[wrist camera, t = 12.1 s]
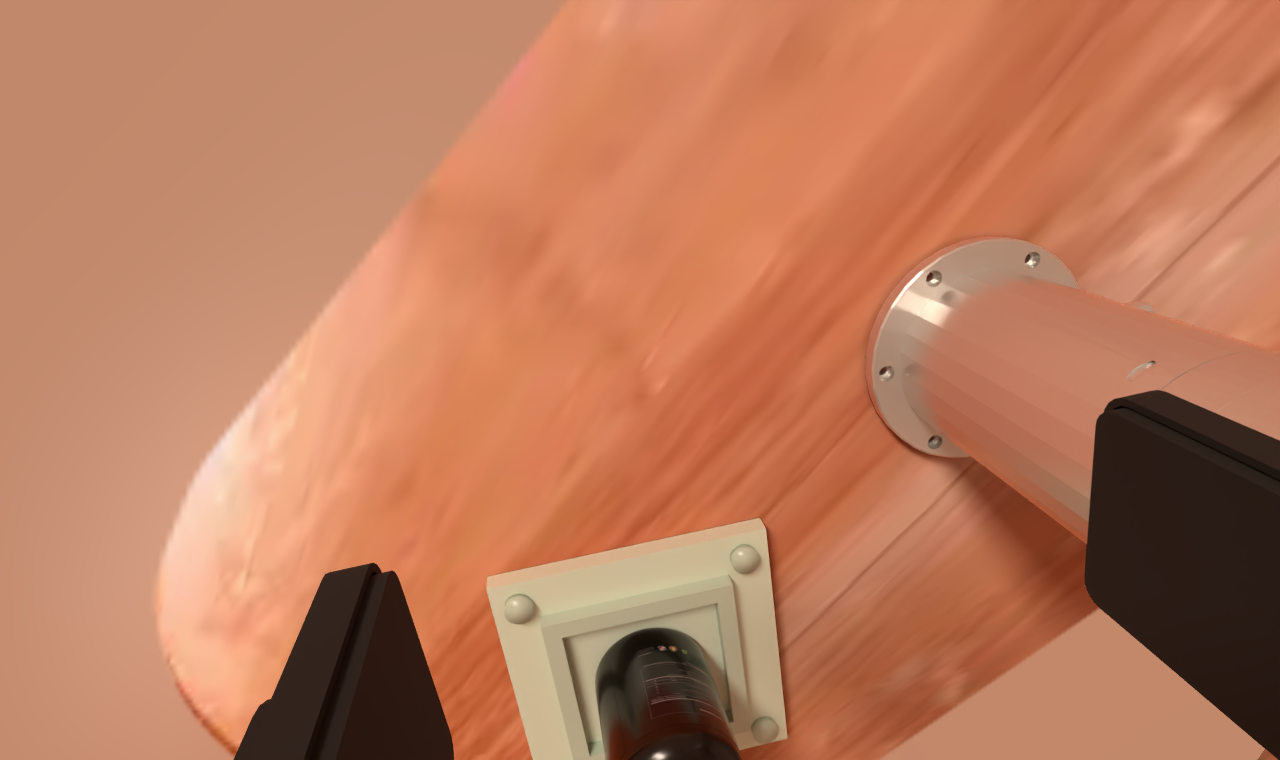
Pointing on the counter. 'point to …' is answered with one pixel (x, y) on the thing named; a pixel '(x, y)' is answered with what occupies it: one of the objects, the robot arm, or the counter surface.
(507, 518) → the counter surface
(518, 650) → the seating plate
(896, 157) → the counter surface
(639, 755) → the supplement bottle
